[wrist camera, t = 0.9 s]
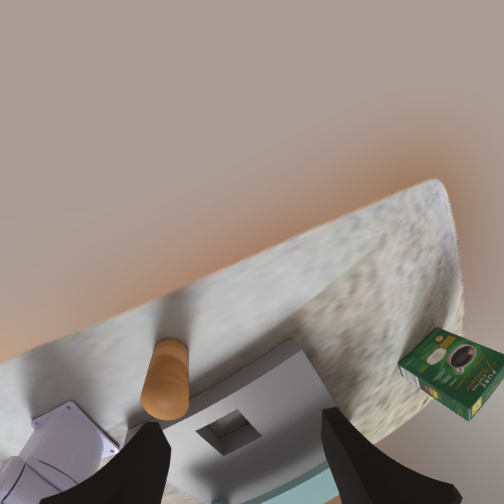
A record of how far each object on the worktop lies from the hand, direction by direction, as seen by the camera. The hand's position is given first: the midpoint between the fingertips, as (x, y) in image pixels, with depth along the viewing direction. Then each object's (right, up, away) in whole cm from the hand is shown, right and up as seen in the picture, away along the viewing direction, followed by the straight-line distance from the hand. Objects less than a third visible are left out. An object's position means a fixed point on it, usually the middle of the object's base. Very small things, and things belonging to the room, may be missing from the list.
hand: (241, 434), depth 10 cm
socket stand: (0, -12, +15) cm, 20 cm away
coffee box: (+22, -5, +20) cm, 30 cm away
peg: (-7, -1, +13) cm, 15 cm away
